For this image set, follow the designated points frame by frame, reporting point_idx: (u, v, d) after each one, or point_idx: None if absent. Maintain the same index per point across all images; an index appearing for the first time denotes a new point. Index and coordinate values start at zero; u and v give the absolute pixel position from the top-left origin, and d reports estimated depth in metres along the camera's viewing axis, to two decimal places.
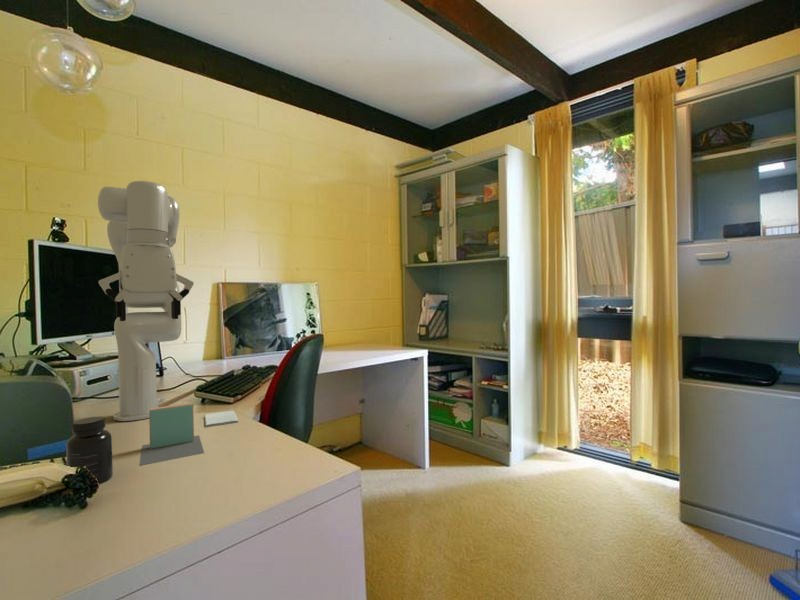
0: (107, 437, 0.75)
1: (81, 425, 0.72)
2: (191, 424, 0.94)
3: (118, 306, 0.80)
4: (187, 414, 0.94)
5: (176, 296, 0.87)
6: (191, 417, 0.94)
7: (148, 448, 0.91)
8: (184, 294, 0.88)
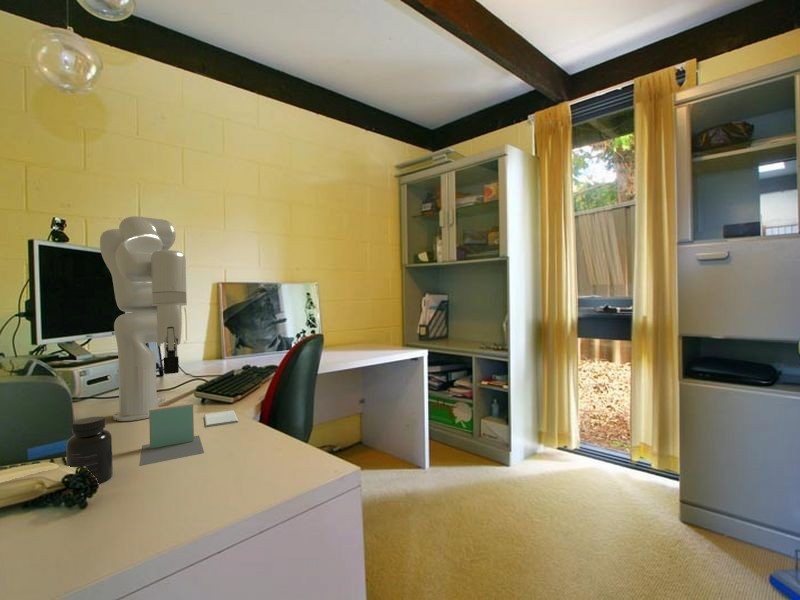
0: (107, 437, 0.75)
1: (81, 425, 0.72)
2: (191, 424, 0.94)
3: (175, 361, 0.97)
4: (187, 414, 0.94)
5: None
6: (191, 417, 0.94)
7: (148, 448, 0.91)
8: None
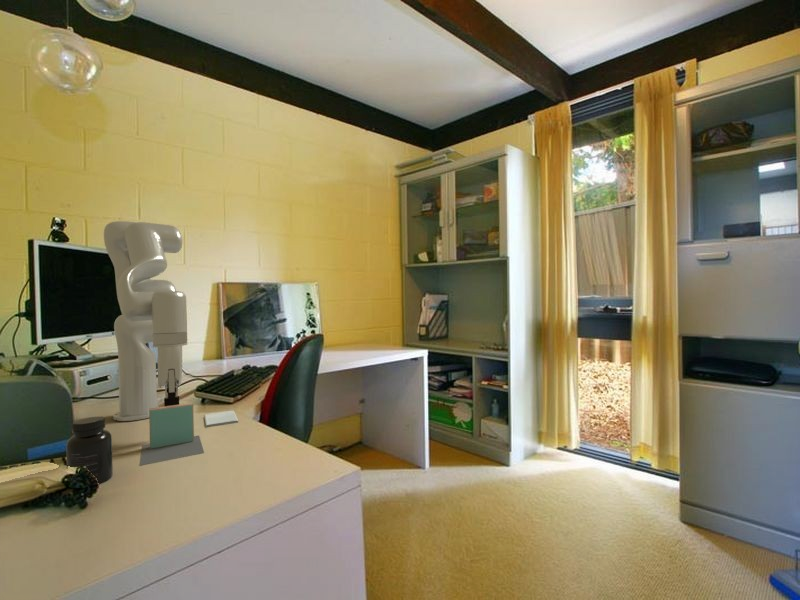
0: (107, 437, 0.75)
1: (81, 425, 0.72)
2: (191, 424, 0.94)
3: (175, 401, 0.97)
4: (187, 414, 0.94)
5: None
6: (191, 417, 0.94)
7: (148, 448, 0.91)
8: None
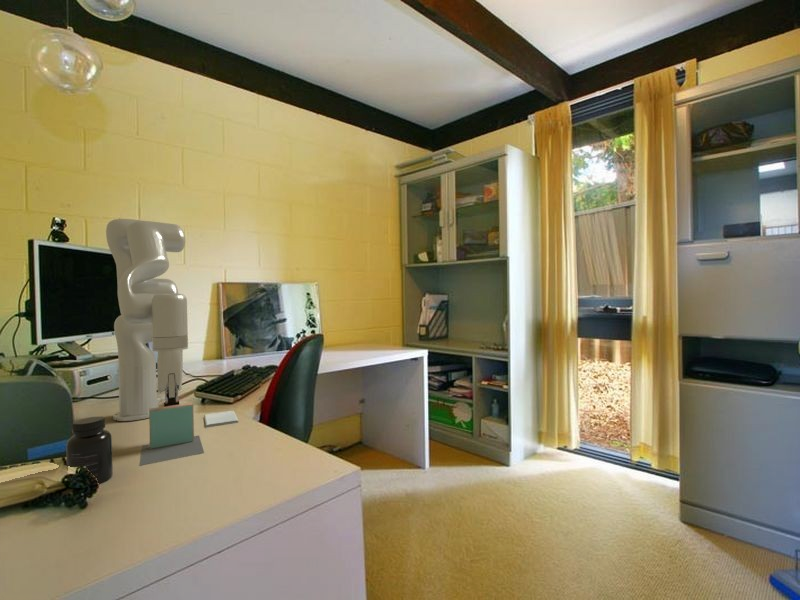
0: (107, 437, 0.75)
1: (81, 425, 0.72)
2: (191, 424, 0.94)
3: None
4: (187, 414, 0.94)
5: None
6: (191, 417, 0.94)
7: (148, 448, 0.91)
8: None
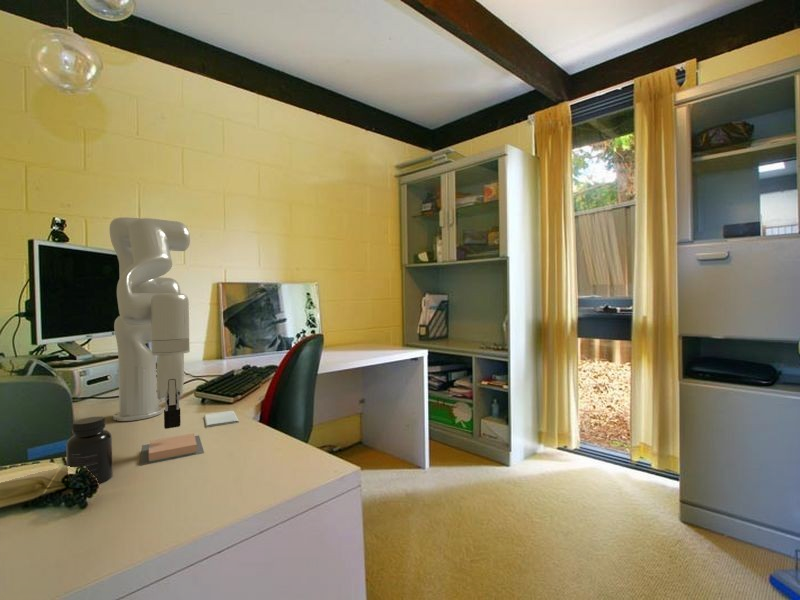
0: (107, 437, 0.75)
1: (81, 425, 0.72)
2: None
3: (176, 414, 0.89)
4: None
5: None
6: None
7: (148, 448, 0.91)
8: None
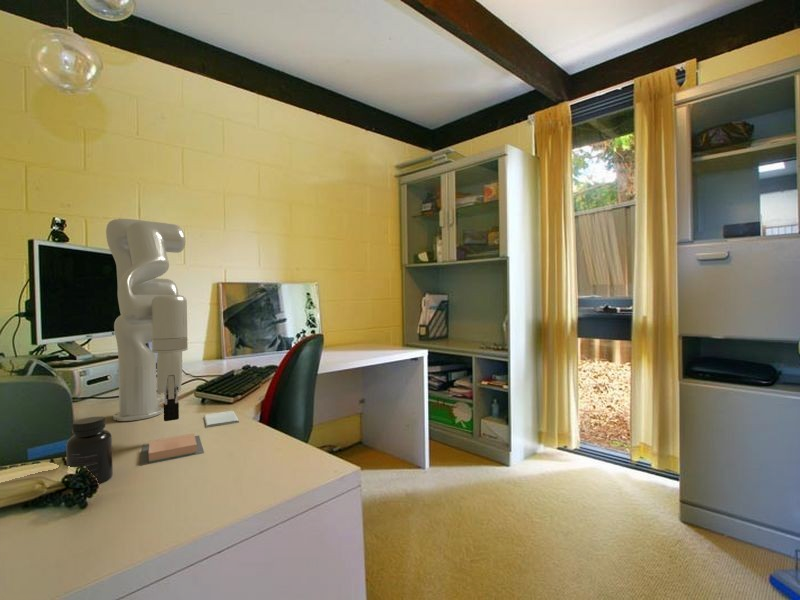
0: (107, 437, 0.75)
1: (81, 425, 0.72)
2: None
3: (175, 407, 0.96)
4: None
5: None
6: None
7: (148, 448, 0.91)
8: None
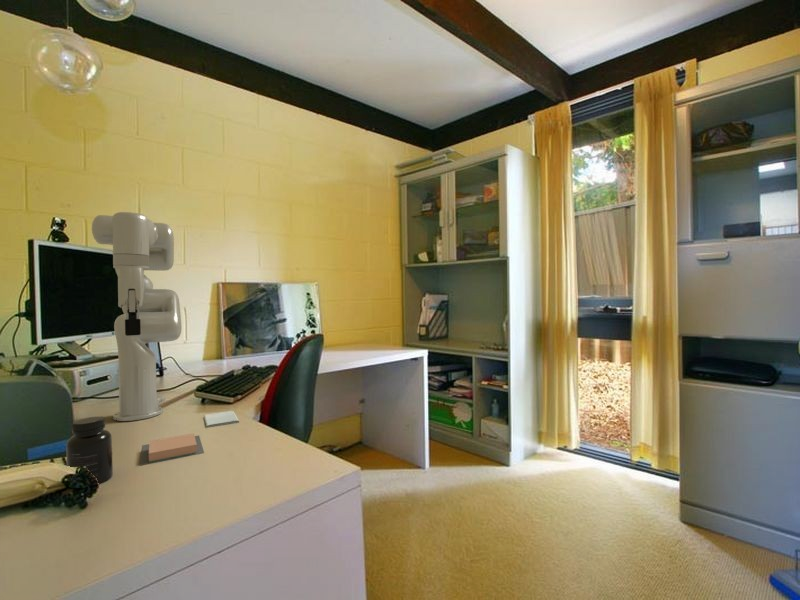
0: (107, 437, 0.75)
1: (81, 425, 0.72)
2: None
3: (136, 323, 0.98)
4: None
5: None
6: None
7: (148, 448, 0.91)
8: (136, 313, 1.01)
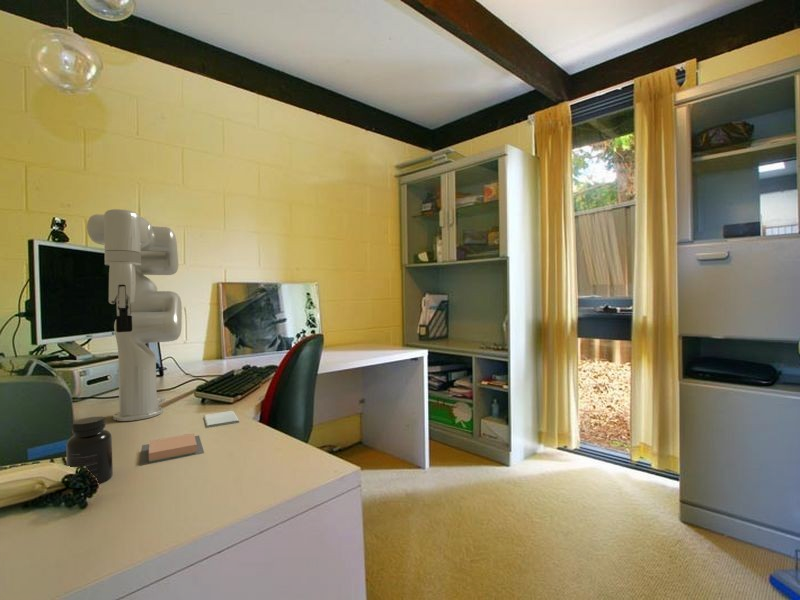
0: (107, 437, 0.75)
1: (81, 425, 0.72)
2: None
3: (127, 319, 0.99)
4: None
5: (130, 310, 1.01)
6: None
7: (148, 448, 0.91)
8: None
